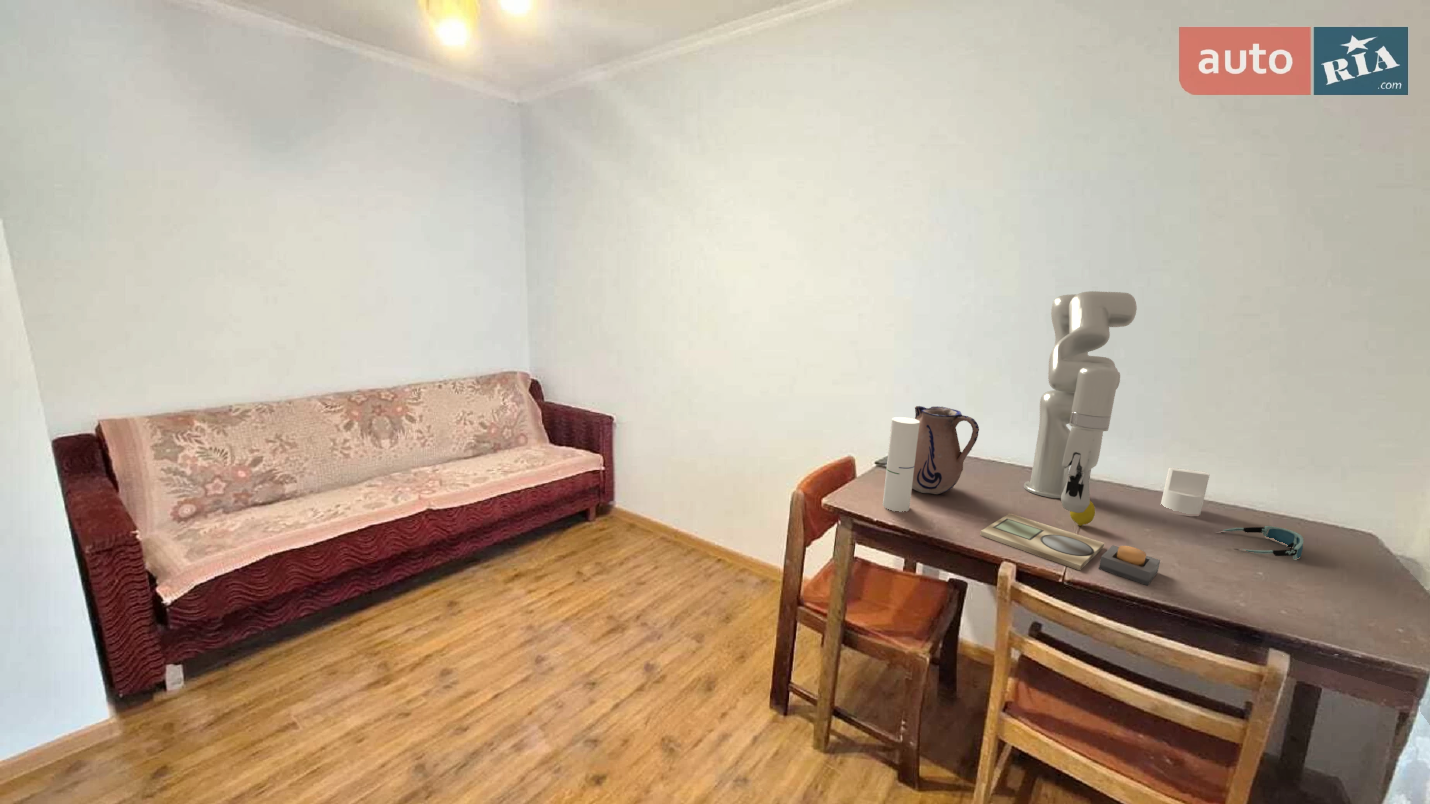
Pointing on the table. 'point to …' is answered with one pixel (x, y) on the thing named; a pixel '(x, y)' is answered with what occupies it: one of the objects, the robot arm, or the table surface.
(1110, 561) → the button housing
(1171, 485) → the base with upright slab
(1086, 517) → the lemon
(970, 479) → the table surface
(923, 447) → the ceramic pitcher
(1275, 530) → the sunglasses
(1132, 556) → the button
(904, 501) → the cylindrical container
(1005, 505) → the table surface
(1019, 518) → the picture board
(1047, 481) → the robot arm
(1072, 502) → the salt shaker
